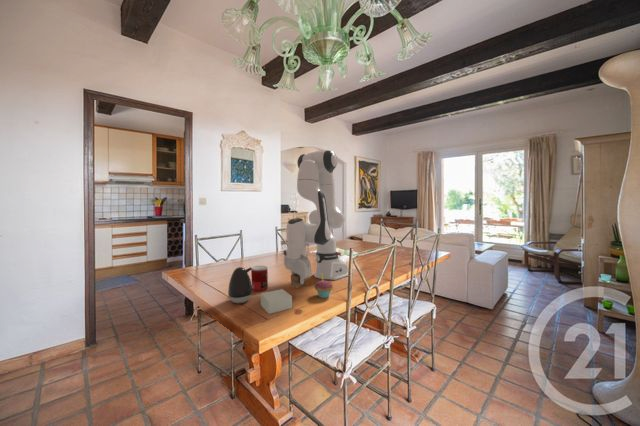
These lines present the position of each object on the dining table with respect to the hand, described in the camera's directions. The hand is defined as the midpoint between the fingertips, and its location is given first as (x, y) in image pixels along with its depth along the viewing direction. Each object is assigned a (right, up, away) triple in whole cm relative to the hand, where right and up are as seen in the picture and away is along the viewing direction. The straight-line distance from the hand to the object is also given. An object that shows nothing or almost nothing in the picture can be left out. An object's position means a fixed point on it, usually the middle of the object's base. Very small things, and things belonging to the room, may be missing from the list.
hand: (298, 281), depth 120 cm
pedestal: (-8, -7, -14) cm, 17 cm away
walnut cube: (0, -2, 0) cm, 2 cm away
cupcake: (+12, -6, -2) cm, 14 cm away
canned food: (-20, -6, +7) cm, 22 cm away
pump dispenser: (-25, -7, -8) cm, 27 cm away
